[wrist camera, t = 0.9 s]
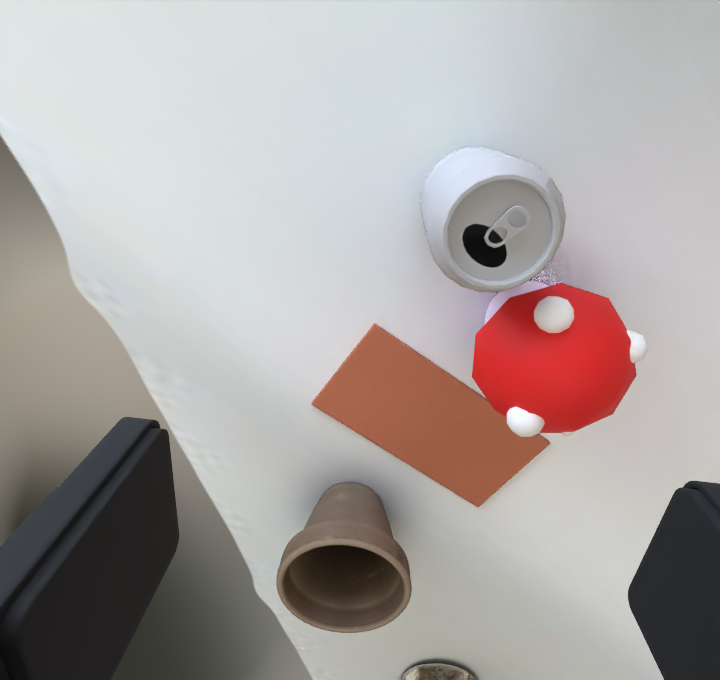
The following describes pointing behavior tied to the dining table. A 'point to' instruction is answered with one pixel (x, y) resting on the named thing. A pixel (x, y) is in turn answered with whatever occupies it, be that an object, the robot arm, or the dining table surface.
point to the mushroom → (554, 358)
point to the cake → (437, 673)
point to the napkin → (426, 417)
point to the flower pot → (345, 565)
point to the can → (491, 218)
